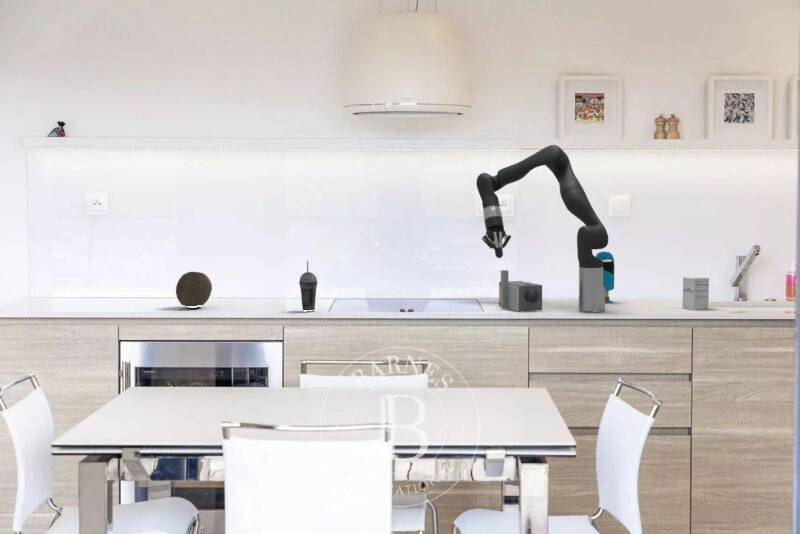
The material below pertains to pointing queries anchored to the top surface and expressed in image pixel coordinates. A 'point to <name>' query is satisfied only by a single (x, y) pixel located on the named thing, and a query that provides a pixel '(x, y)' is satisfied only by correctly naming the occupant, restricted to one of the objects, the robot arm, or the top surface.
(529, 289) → the block
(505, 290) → the side door
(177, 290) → the dark brown ball
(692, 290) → the supplement box
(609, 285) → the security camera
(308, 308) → the beverage cup
